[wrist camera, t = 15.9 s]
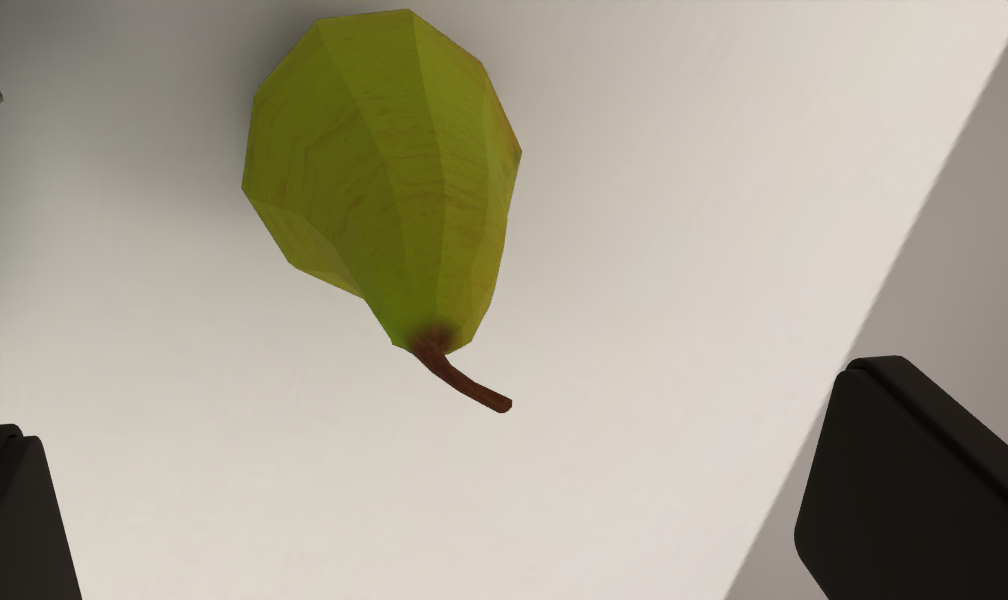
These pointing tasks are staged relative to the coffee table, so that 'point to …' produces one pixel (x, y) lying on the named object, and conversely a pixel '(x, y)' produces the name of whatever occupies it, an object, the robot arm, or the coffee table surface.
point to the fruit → (389, 177)
